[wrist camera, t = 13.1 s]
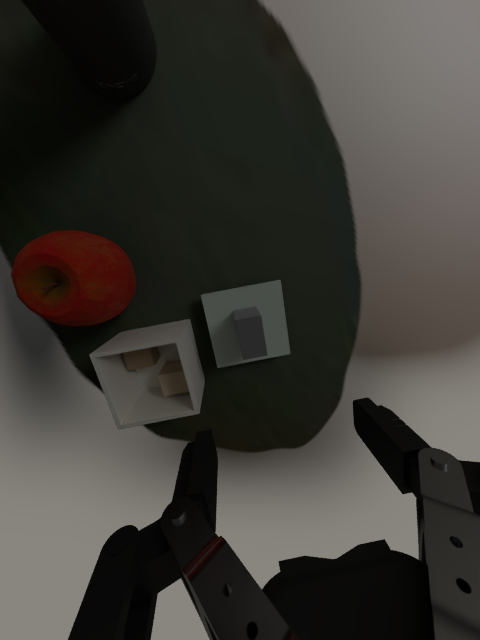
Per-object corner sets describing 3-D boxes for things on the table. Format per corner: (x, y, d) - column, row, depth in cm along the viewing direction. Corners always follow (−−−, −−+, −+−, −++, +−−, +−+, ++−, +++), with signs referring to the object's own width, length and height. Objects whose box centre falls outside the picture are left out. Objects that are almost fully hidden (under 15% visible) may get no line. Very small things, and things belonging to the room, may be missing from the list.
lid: (202, 292, 32) (196, 302, 25) (276, 278, 32) (291, 284, 25) (217, 361, 35) (216, 386, 28) (286, 347, 35) (301, 370, 28)
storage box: (120, 331, 33) (89, 354, 25) (189, 318, 33) (179, 337, 25) (141, 392, 36) (118, 429, 28) (204, 380, 36) (199, 413, 28)
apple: (41, 267, 30) (-54, 272, 20) (102, 215, 29) (35, 191, 19) (102, 330, 33) (46, 362, 23) (160, 284, 32) (129, 296, 21)
